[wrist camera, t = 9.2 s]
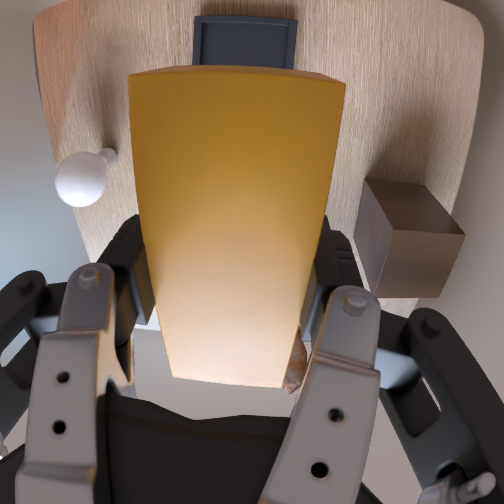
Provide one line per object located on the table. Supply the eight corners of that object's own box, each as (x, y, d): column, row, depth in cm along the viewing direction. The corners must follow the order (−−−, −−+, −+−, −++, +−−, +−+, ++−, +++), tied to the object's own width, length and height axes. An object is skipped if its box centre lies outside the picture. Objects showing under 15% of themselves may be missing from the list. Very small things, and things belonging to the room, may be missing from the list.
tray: (296, 22, 26) (297, 20, 25) (282, 156, 36) (282, 162, 35) (199, 17, 27) (194, 15, 25) (194, 150, 36) (190, 155, 35)
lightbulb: (140, 160, 37) (101, 199, 29) (109, 184, 40) (69, 226, 31) (112, 123, 34) (65, 152, 26) (83, 150, 37) (36, 185, 28)
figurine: (264, 289, 49) (259, 370, 37) (310, 298, 50) (316, 378, 38) (255, 314, 53) (249, 391, 41) (298, 322, 53) (300, 398, 41)
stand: (364, 178, 37) (393, 229, 27) (424, 185, 36) (465, 234, 27) (353, 237, 42) (372, 298, 33) (409, 241, 42) (438, 297, 32)
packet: (174, 65, 8) (127, 75, 5) (321, 73, 8) (347, 83, 5) (188, 316, 15) (172, 377, 12) (281, 324, 15) (281, 388, 12)
